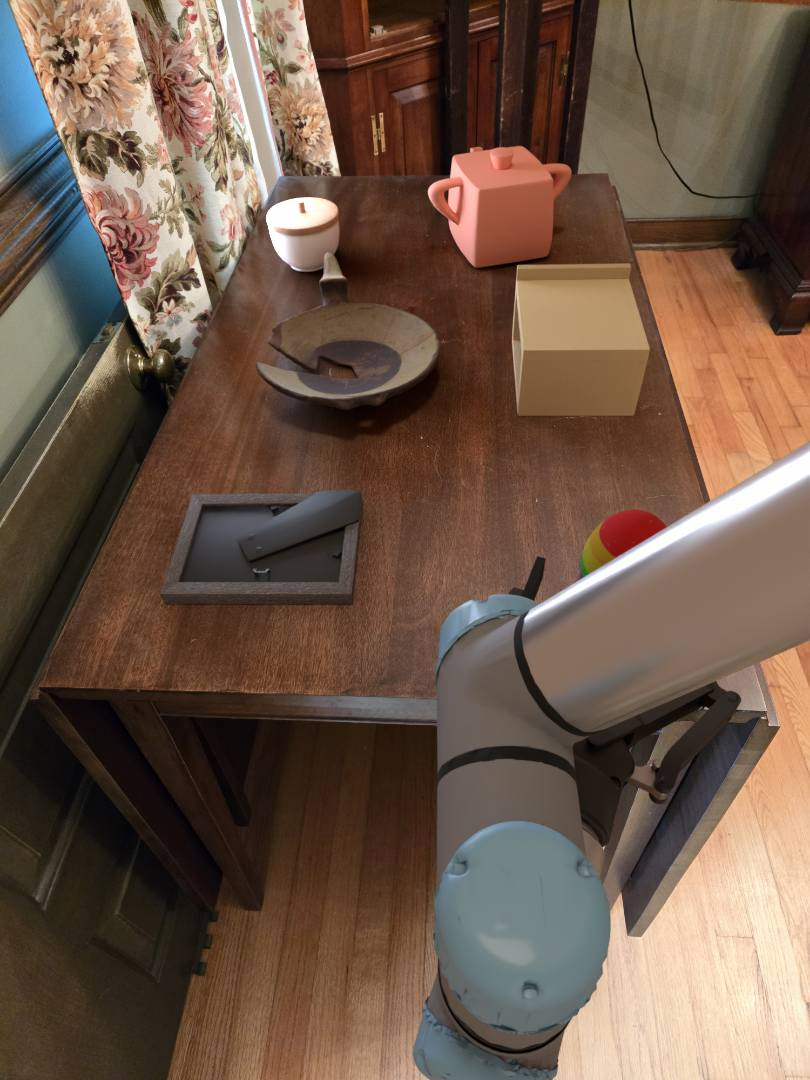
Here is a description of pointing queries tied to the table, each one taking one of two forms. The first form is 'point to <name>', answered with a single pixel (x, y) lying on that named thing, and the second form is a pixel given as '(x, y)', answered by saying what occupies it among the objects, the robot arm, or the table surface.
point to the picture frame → (267, 549)
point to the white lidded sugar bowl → (304, 231)
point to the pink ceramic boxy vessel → (500, 204)
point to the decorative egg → (618, 537)
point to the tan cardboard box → (577, 341)
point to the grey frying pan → (351, 348)
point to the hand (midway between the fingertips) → (619, 589)
